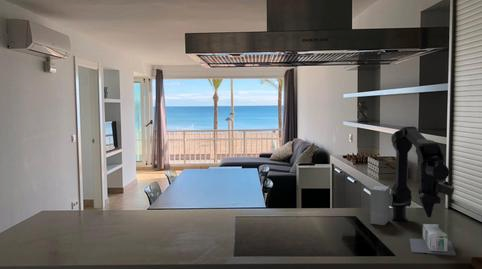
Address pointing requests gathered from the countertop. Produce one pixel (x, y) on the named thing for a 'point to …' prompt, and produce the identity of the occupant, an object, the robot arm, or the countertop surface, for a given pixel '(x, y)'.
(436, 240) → the syrup box
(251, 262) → the countertop surface
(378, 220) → the skincare box
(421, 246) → the light grey square plate
